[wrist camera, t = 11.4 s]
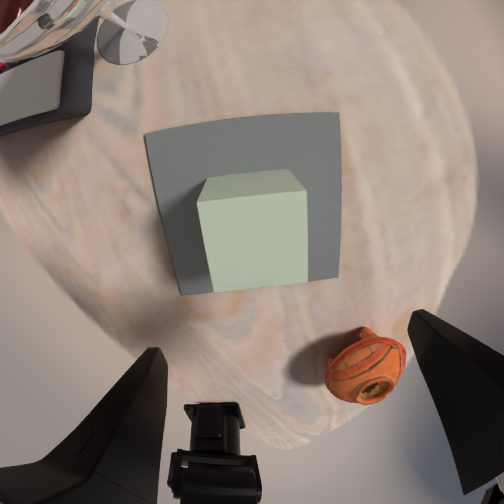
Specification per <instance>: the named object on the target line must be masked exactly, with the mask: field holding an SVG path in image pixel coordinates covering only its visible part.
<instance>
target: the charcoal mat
mask: <svg viewBox="0 0 504 504" xmlns="http://www.w3.org/2000/svg"><path fill="white" fill-rule="evenodd" d="M145 137H146V143H147V149H148V155H149V160H150V166H151V171H152V176H153V181H154V186H155V191H156V196H157V200H158V205H159V209H160V214H161V218H162V222H163V227H164V231H165V235H166V239H167V243H168V247H169V251H170V255H171V259H172V262H173V266H174V270H175V273H176V277H177V281H178V284H179V288H180V291H181V294H182V295H191V294H202V293H212V292H214V290H213V285H212V280H211V276H210V271H209V266H208V261H207V256H206V251H205V245H204V240H203V235H202V229H201V224H200V218H199V213H198V207H197V201H198V198H199V196H200V194H201V191H202V189H203V187H204V184H205V182H206V180H207V178H210V177H218V176H225V175H234V174H242V173H252V172H262V171H272V170H284V169H288V170H289V171H290V172H291V173H292V174H293V175H294V177H295V178H296V179H297V180H298V181H299V182H300V183H301V185H302V186H303V187H304V188H305V189H306V190H307V220H308V281H315V280H323V279H330V278H337V277H338V273H339V257H340V237H341V193H342V181H341V138H340V118H339V113H292V114H275V115H262V116H251V117H241V118H232V119H224V120H217V121H210V122H203V123H197V124H191V125H186V126H180V127H175V128H170V129H165V130H160V131H155V132H151V133H147V134H145Z"/></svg>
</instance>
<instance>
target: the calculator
mask: <svg viewBox="0 0 504 504" xmlns="http://www.w3.org/2000/svg"><path fill="white" fill-rule="evenodd" d="M98 21H99V17H98V16H97V17H96V18H95V19H94V20H93V21H92V22H91V23H90V24H89V25H88V26H87V27H86V28H85V29H83V30H82V31H81V32H79V33H78V34H77V35H75V36H74V37H73V38H72V39H70V40H69V41H68V42H66V43H64V44H62V45H60V46H58V47H56V48H54V49H52V50H50V51H48V52H46V53H44V54H42V55H39V56H37V57H33V58H28V59H23V60H19V61H14V62H7V63H2V62H0V136H2V135H6V134H9V133H12V132H15V131H19V130H22V129H26V128H30V127H34V126H38V125H42V124H46V123H50V122H55V121H59V120H64V119H69V118H75V117H80V116H85V115H88V114H89V113H90V111H91V105H92V81H93V68H94V43H95V37H96V31H97V26H98Z"/></svg>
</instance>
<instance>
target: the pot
mask: <svg viewBox="0 0 504 504" xmlns="http://www.w3.org/2000/svg"><path fill="white" fill-rule="evenodd" d="M361 332H362V339H361V340H360V341H358V342H356V343H354V344H352V345H350V346H349V347H347V348H346V349H344V350H343V351H342V352H341V353H340V354H339V355H338V356H337V357H336V358H335V359H334V360H333V358H332V357H330V358H329V359H328V363H327V374H326V378H325V382H326V386H327V388H328V390H329V391H330V392H331V393H332V394H333V395H334V396H335V397H337V398H339V399H341V400H344V401H347V402H351V403H360V404H362V405H369V404H373V403H376V402H379V401H381V400H383V399H384V398H385V397H386V396H387V395H388V394H390V393H391V392H392V391H393V389H394V387H395V385H396V384H397V382H398V381H399V379H400V377H401V375H402V373H403V371H404V368H405V363H406V350H405V348H404V347H403V346H402V345H401V344H400V343H399V342H397V341H395V340H393V339H389V338H386V337H379V336H377V335H376V334H375V333H373V332H372V331H371V330H370V329H368V328H367V327H364V328H363V329H362V330H361Z"/></svg>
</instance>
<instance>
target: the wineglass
mask: <svg viewBox="0 0 504 504" xmlns="http://www.w3.org/2000/svg"><path fill="white" fill-rule="evenodd" d="M110 2H111V0H0V62H2V63H7V62H14V61H19V60H23V59H28V58H33V57H37V56H39V55H42V54H44V53H46V52H48V51H50V50H52V49H54V48H56V47H58V46H60V45H62V44H64V43H66V42H68V41H69V40H70V39H72V38H73V37H74V36H75V35H77V34H78V33H79V32H81V31H82V30H83V29H85V28H86V27H87V26H88V25H89V24H90V23H91V22H92V21H93V20H94V19H95V18H96V17H97V16H98V17H100V18H102V19H104V22H103V23H102V25H101V26H100V29H99V32H98V36H97V47H98V50H99V52H100V54H101V56H102V57H104V58H105V59H106V60H107V61H109V62H112V63H114V64H129V63H133V62H137V61H139V60H141V59H143V58H144V57H146V56H148V55H149V54H151V53H152V52H153V51H154V50H155V49H156V48H157V47H158V46H159V45H160V43H161V41H162V40H163V38H164V37H165V35H166V31H167V28H168V15H167V14H166V12H165V10H164V8H163V7H162V6H161V5H159V4H158V3H157V2H154V1H151V0H134V1H130V2H127V3H124V4H123V5H121V6H119V7H118V8H116V9H114V10H113V11H111V10H110V9H108V8H107V6H108V4H109V3H110Z"/></svg>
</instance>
